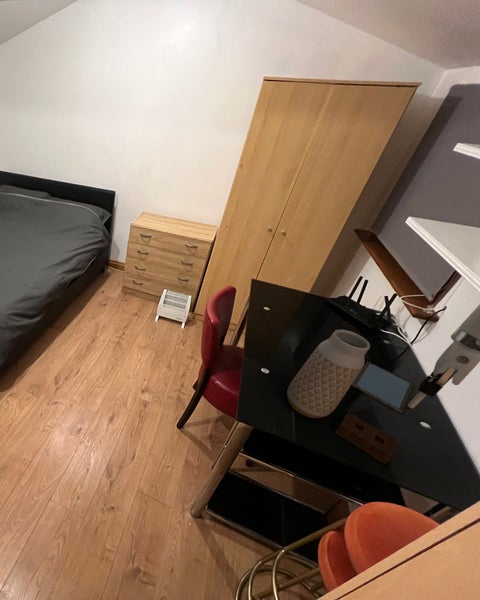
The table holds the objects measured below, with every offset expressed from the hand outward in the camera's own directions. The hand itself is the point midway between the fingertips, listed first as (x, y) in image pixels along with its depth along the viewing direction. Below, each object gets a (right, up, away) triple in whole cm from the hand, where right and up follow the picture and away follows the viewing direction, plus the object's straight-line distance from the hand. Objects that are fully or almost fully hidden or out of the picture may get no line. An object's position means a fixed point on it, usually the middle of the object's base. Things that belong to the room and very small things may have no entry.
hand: (425, 391), depth 88 cm
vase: (-17, -12, +24) cm, 32 cm away
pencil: (-1, -6, +4) cm, 8 cm away
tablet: (+21, -8, +35) cm, 42 cm away
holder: (-5, -20, +14) cm, 25 cm away
